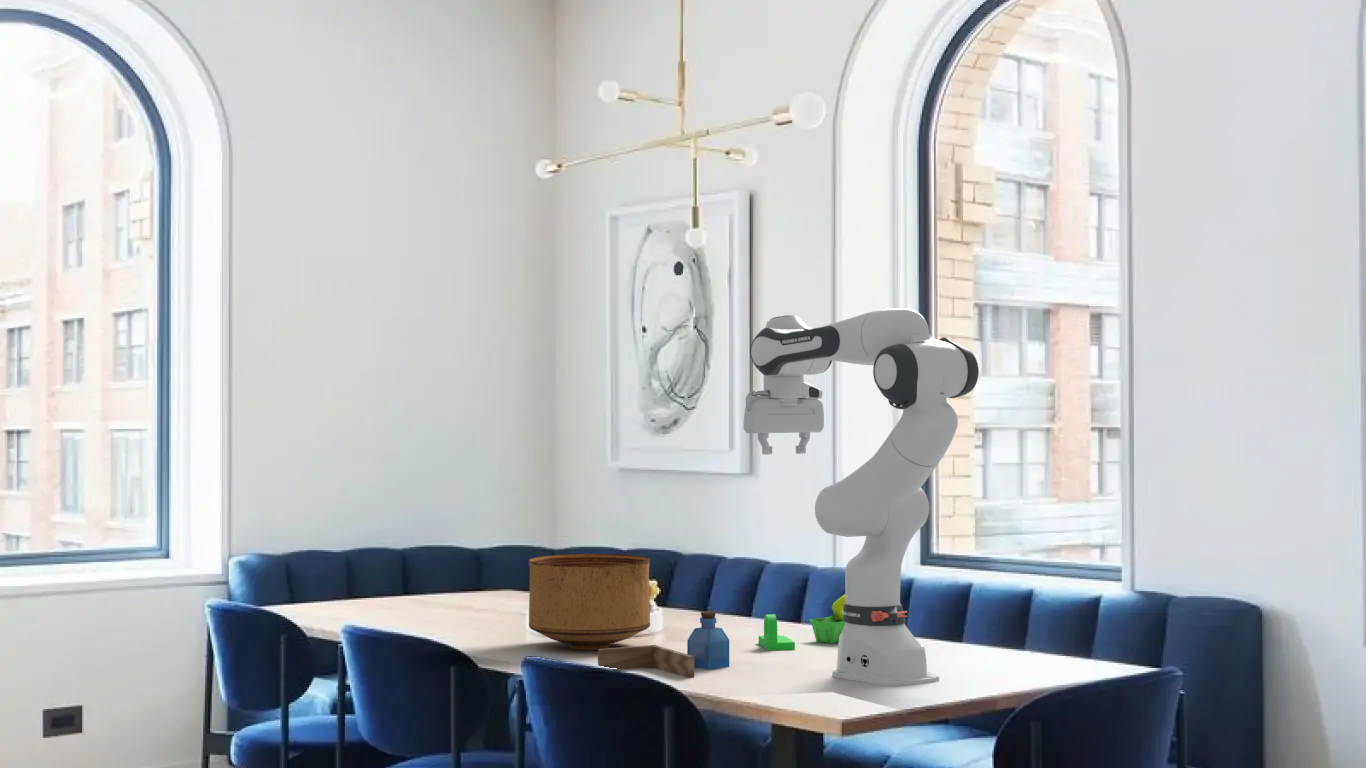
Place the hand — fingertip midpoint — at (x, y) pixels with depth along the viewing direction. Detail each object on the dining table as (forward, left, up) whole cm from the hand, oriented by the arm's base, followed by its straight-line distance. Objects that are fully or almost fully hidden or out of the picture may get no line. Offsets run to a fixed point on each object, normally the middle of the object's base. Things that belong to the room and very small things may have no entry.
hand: (784, 454), depth 364 cm
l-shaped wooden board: (-9, +38, -44) cm, 59 cm away
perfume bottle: (-6, +22, -45) cm, 50 cm away
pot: (+35, +31, -45) cm, 65 cm away
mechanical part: (+16, -7, -45) cm, 48 cm away
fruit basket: (+18, -25, -45) cm, 54 cm away
